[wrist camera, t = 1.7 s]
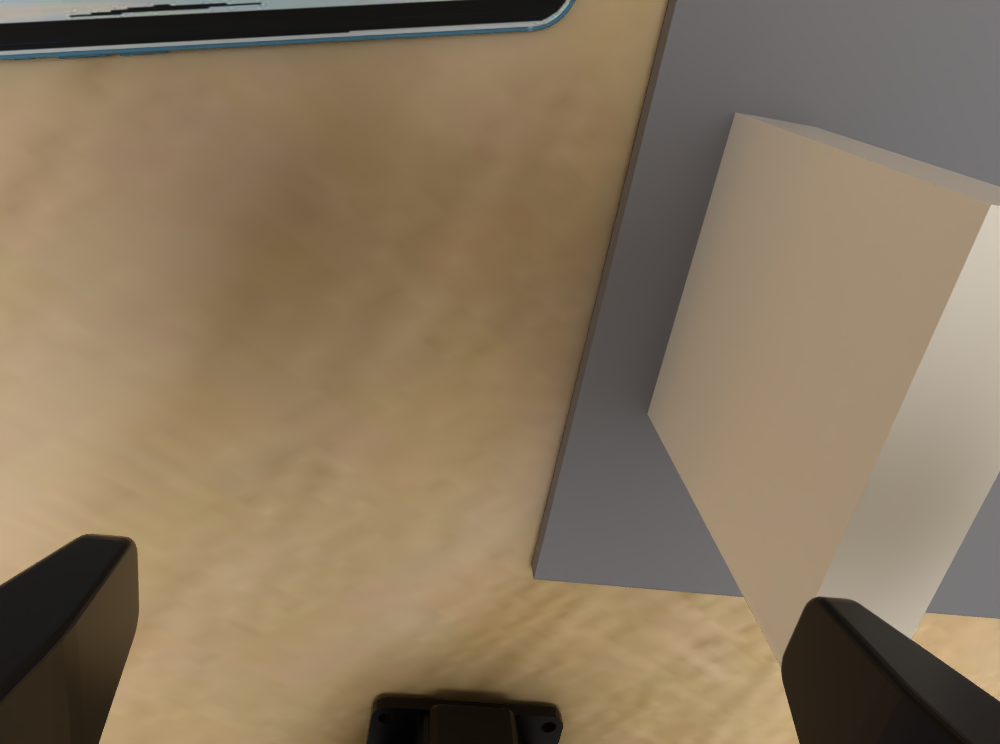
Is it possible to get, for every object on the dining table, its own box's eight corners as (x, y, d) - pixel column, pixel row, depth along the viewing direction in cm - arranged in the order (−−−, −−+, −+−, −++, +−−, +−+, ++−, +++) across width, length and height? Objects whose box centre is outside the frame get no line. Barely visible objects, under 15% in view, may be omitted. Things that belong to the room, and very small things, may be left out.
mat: (1041, 610, 26) (1054, 623, 26) (531, 565, 24) (533, 579, 23) (1436, -37, 18) (1466, -38, 18) (721, -217, 15) (732, -225, 15)
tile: (720, 422, 21) (897, 679, 13) (647, 414, 21) (782, 670, 13) (821, 128, 18) (1137, 230, 10) (735, 112, 18) (991, 204, 10)
